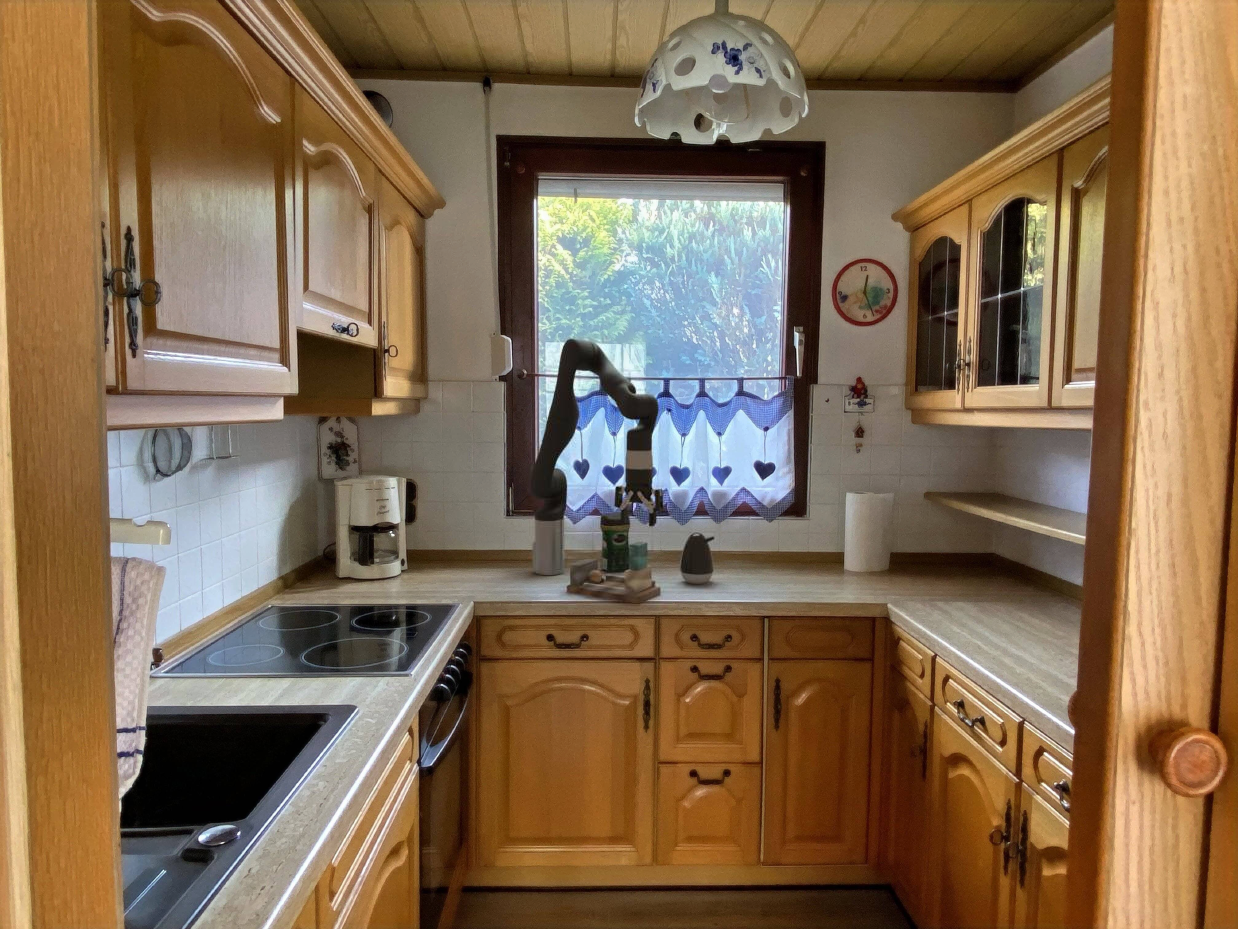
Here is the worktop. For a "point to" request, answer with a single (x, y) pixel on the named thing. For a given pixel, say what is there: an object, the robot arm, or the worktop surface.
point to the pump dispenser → (697, 559)
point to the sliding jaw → (638, 568)
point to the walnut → (595, 576)
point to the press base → (605, 584)
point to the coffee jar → (614, 543)
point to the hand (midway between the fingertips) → (638, 524)
